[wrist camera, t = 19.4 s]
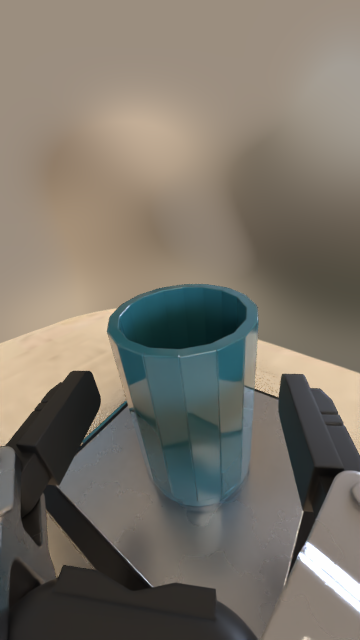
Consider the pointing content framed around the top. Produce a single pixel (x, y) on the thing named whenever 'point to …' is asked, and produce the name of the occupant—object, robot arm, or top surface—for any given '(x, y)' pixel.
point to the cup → (189, 386)
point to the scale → (186, 518)
